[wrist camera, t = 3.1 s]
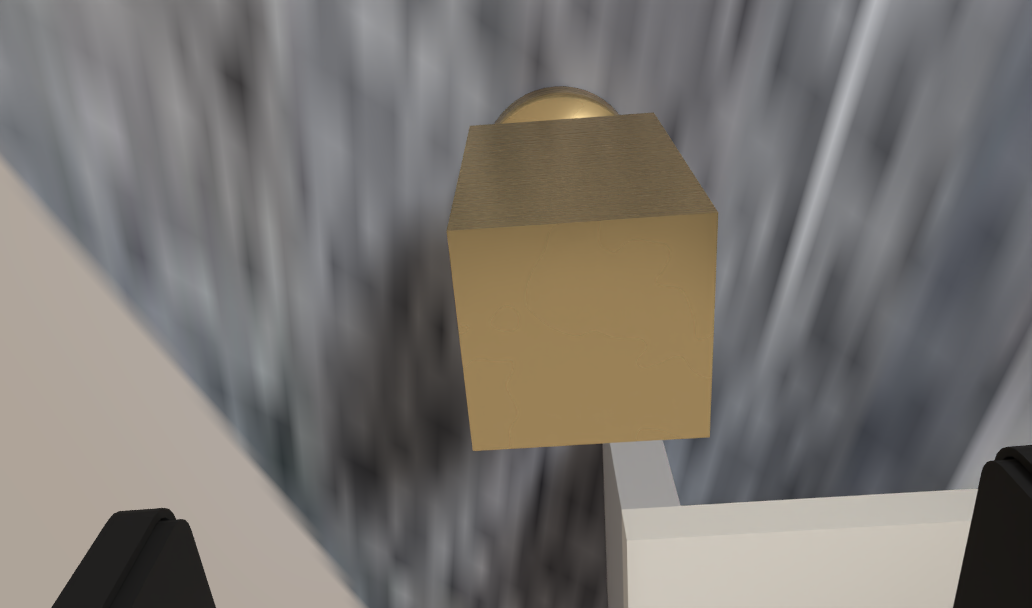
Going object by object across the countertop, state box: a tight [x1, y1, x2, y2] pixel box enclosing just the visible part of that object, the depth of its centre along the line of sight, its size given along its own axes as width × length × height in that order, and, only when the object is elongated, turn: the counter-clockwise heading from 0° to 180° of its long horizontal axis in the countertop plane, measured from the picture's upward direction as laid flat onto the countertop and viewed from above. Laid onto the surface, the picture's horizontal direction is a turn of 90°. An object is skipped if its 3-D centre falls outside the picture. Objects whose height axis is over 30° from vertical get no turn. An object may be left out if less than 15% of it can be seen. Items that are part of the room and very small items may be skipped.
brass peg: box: [447, 86, 718, 451], centre depth 19 cm, size 4×4×11 cm
